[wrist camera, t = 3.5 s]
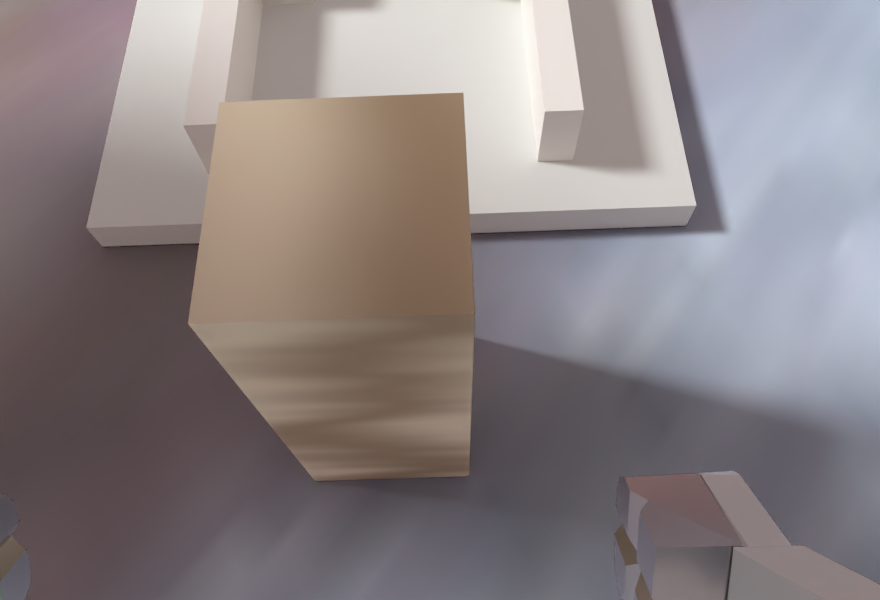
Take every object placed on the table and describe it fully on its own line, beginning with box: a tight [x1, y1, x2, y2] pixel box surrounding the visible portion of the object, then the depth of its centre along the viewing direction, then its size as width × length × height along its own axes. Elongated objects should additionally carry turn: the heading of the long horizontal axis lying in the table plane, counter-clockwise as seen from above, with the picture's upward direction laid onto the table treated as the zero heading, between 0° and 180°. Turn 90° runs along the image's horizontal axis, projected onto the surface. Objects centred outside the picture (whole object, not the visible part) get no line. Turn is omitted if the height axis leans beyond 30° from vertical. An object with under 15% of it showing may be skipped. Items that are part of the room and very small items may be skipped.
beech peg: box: [188, 93, 475, 481], centre depth 17 cm, size 4×4×11 cm
